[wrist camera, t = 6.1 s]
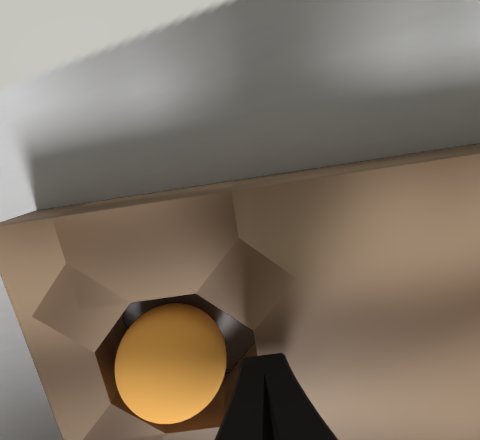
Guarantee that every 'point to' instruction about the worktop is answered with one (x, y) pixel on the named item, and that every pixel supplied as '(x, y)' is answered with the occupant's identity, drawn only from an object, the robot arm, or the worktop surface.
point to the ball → (170, 363)
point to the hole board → (271, 292)
